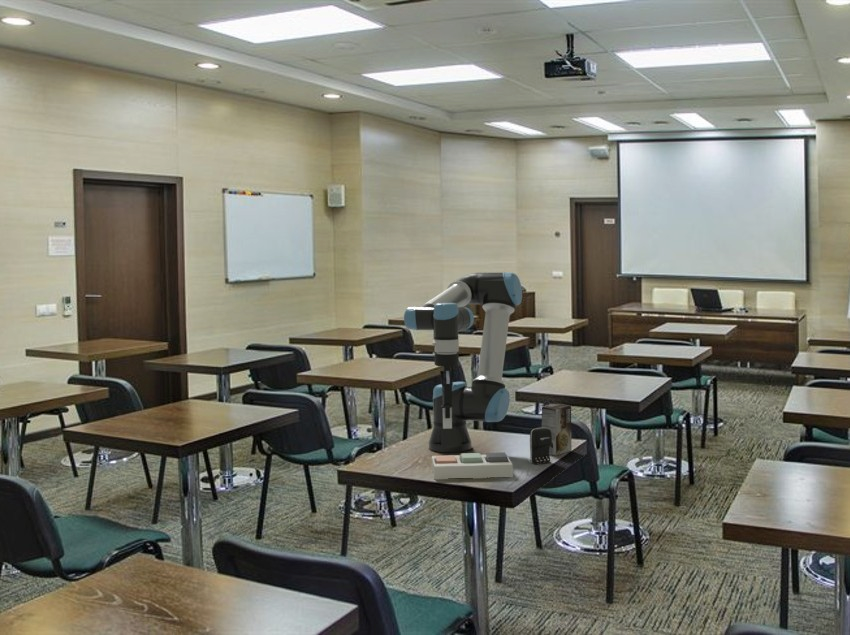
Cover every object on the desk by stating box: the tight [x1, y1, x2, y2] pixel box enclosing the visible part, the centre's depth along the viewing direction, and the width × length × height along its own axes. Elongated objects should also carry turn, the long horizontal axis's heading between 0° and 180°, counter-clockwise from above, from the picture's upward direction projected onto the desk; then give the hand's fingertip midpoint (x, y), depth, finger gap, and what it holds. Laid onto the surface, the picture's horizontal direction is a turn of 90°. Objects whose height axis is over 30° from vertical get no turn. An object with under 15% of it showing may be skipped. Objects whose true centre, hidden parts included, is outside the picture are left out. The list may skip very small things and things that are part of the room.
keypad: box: [431, 453, 514, 480], centre depth 266 cm, size 14×24×4 cm, turn 93°
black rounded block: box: [529, 427, 552, 465], centre depth 277 cm, size 7×4×11 cm, turn 119°
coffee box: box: [541, 402, 573, 456], centre depth 292 cm, size 9×6×16 cm
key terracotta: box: [435, 455, 456, 464], centre depth 266 cm, size 6×6×3 cm
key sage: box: [460, 452, 482, 463], centre depth 266 cm, size 6×6×3 cm
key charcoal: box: [485, 451, 509, 462], centre depth 266 cm, size 6×6×3 cm
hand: (447, 427), depth 265 cm, fingers closed
